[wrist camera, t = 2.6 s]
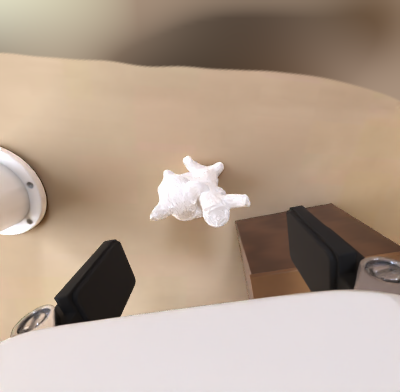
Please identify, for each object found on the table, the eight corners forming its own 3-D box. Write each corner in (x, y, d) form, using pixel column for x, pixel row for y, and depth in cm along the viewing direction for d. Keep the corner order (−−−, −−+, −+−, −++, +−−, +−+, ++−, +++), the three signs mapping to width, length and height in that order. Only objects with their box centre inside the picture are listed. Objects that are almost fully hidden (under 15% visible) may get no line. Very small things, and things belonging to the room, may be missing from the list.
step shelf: (253, 330, 35) (273, 417, 24) (233, 220, 28) (250, 277, 17) (332, 320, 33) (389, 407, 23) (333, 202, 26) (416, 252, 16)
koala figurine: (228, 146, 24) (248, 164, 13) (235, 197, 26) (257, 250, 15) (162, 158, 25) (125, 186, 14) (174, 207, 27) (151, 265, 16)
